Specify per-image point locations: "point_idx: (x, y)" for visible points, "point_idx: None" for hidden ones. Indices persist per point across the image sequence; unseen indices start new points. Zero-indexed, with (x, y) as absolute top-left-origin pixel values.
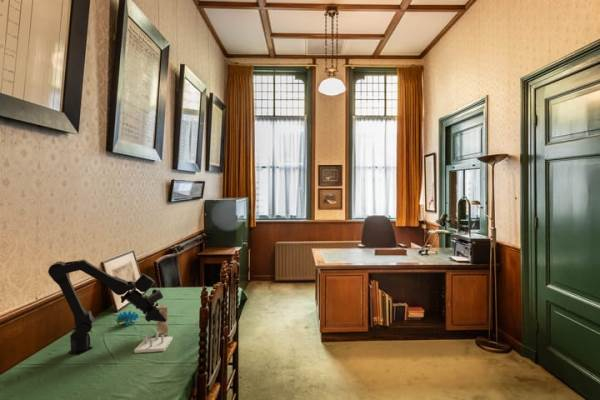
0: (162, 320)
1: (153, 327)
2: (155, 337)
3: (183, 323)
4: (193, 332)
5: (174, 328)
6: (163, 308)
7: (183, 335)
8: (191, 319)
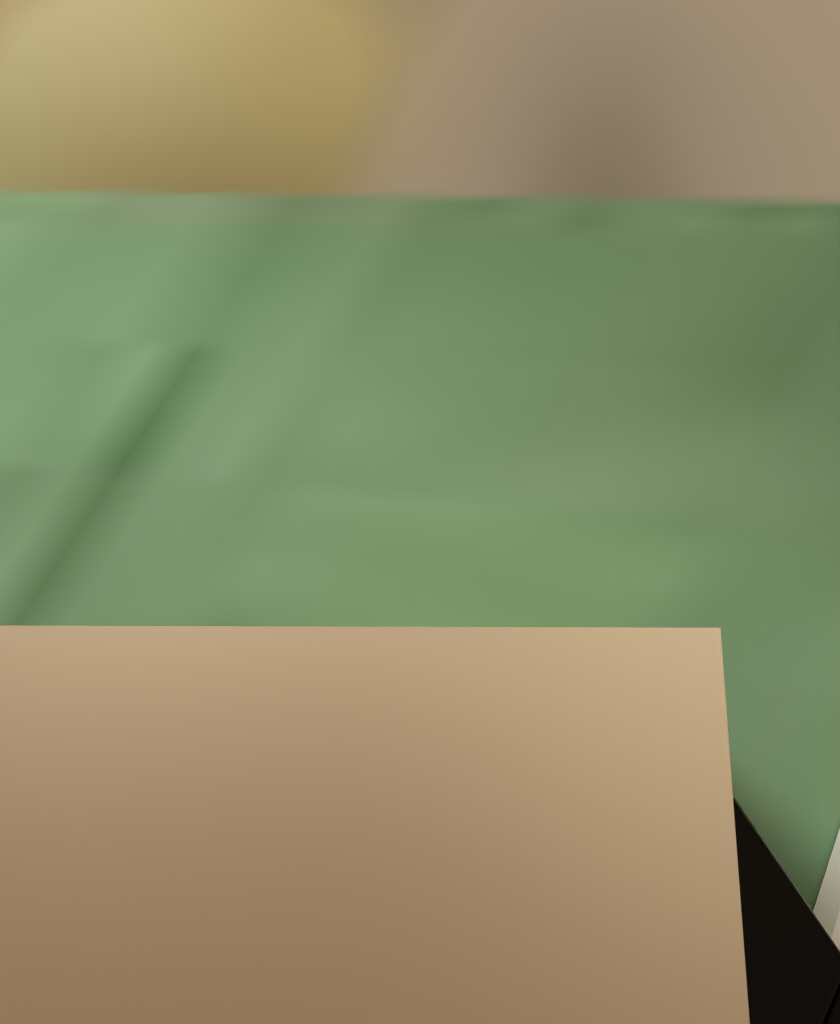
0: None
1: None
2: None
3: (160, 356)
4: (719, 210)
5: (308, 519)
6: (733, 994)
7: (793, 387)
8: (63, 230)
